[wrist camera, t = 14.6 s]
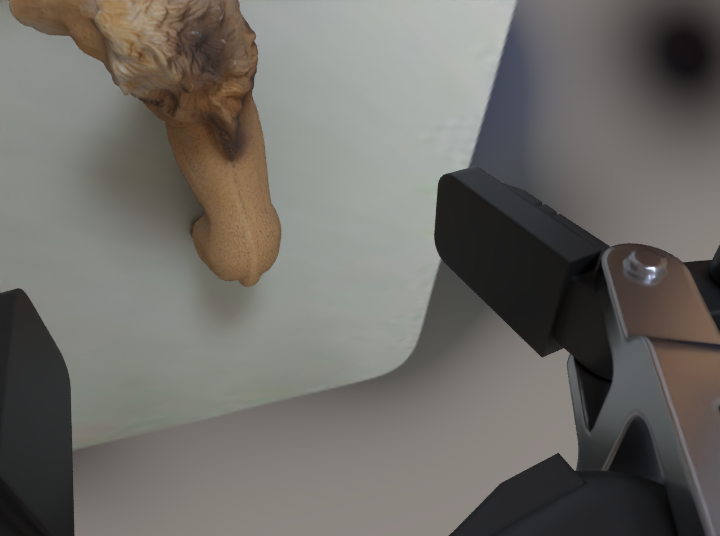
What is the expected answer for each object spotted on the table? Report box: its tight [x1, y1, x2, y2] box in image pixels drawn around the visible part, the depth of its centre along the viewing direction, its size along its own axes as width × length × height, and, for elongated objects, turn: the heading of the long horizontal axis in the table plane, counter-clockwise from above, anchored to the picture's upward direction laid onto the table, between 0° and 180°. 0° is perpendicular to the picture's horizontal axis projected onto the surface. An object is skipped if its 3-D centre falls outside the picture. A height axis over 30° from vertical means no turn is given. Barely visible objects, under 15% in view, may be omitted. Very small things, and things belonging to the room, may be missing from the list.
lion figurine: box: [9, 0, 281, 287], centre depth 18 cm, size 15×5×9 cm, turn 16°
